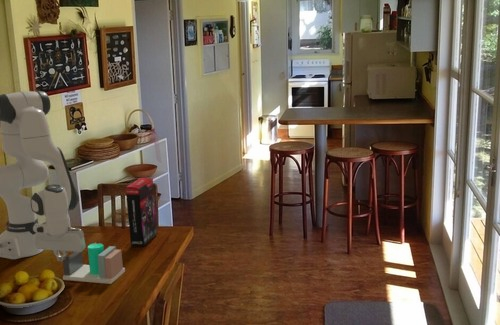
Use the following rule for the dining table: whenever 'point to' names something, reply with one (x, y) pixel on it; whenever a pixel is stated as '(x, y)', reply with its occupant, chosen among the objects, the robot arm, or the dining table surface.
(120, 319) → the dining table surface
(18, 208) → the robot arm
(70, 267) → the bookend
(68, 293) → the dining table surface
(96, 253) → the candle
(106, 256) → the white base with blocks
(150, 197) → the graphics card box
